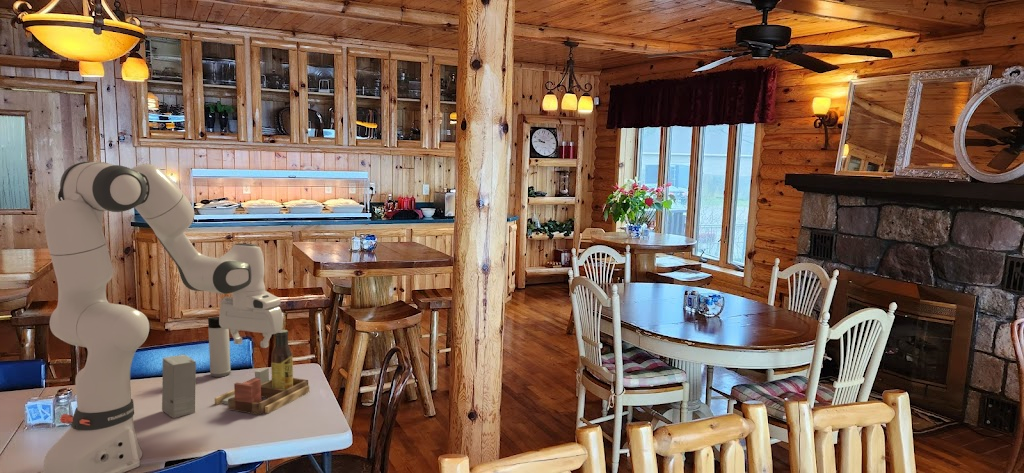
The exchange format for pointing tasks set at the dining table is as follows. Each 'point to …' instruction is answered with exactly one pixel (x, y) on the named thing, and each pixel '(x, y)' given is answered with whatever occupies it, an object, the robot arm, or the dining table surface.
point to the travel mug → (218, 348)
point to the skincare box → (178, 385)
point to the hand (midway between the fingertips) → (251, 345)
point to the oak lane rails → (273, 405)
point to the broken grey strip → (259, 374)
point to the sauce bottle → (282, 362)
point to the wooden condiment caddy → (259, 395)
